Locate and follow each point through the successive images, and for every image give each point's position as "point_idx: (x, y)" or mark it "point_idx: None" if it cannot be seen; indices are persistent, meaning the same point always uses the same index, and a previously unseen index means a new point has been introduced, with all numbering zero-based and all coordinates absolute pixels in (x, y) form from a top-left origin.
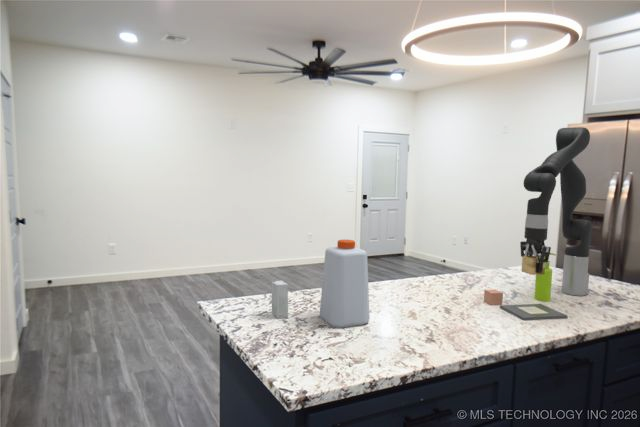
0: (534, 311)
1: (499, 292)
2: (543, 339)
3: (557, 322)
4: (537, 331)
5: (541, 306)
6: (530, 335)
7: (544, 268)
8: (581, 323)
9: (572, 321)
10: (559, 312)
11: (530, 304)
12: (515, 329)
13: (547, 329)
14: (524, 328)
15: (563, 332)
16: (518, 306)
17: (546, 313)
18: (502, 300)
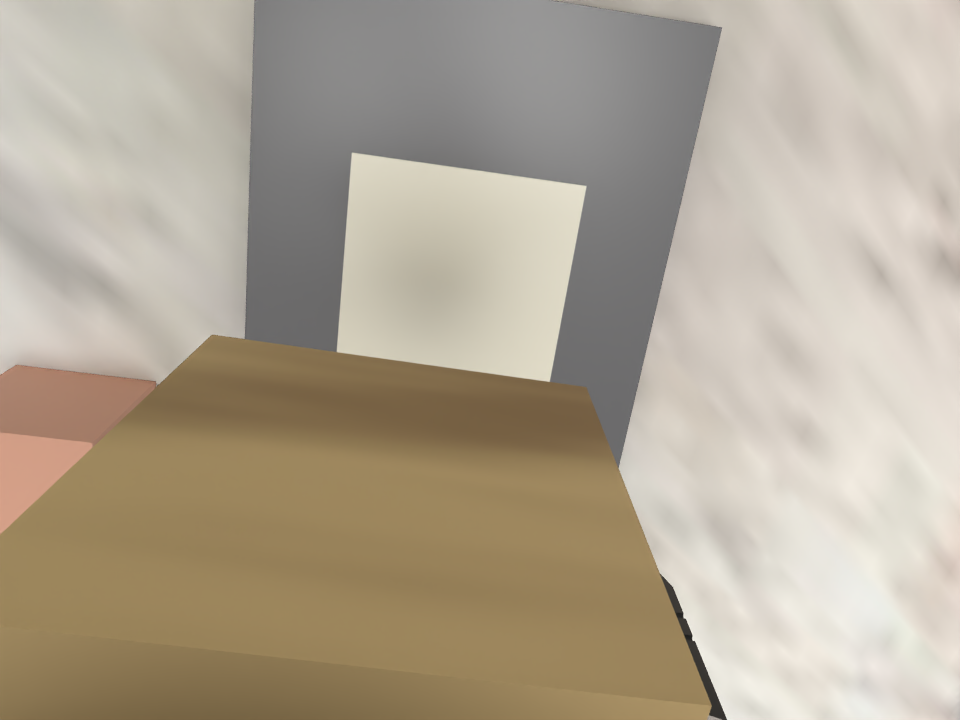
0: (500, 303)
1: (68, 469)
2: (939, 659)
3: (754, 262)
4: (821, 590)
5: (362, 51)
6: (849, 684)
7: (613, 474)
8: (884, 26)
9: (801, 71)
10: (608, 25)
11: (264, 127)
12: (723, 698)
13: (829, 490)
14: (736, 631)
15: (935, 423)
16: (307, 331)
17: (584, 220)
18: (135, 402)
